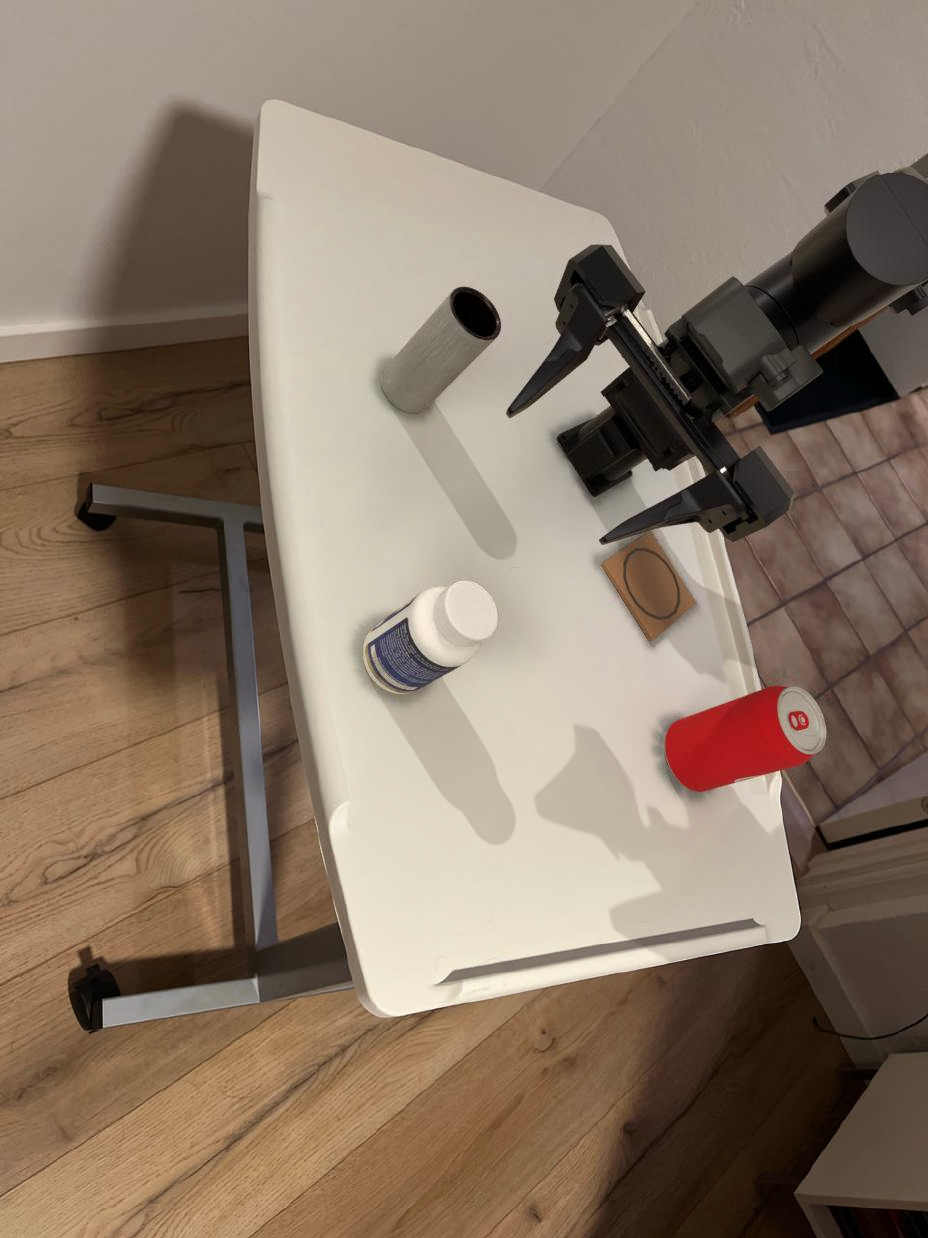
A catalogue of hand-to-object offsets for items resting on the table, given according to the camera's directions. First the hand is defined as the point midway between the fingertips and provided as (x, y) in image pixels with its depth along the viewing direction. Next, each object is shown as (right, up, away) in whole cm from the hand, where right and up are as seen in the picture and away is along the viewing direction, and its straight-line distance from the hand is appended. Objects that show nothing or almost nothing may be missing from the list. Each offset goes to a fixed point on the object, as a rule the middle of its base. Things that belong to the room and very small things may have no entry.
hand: (554, 477), depth 52 cm
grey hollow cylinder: (-10, +10, +21) cm, 25 cm away
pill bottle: (-10, -11, +11) cm, 19 cm away
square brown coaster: (+11, -5, +29) cm, 32 cm away
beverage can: (+13, -20, +24) cm, 34 cm away
